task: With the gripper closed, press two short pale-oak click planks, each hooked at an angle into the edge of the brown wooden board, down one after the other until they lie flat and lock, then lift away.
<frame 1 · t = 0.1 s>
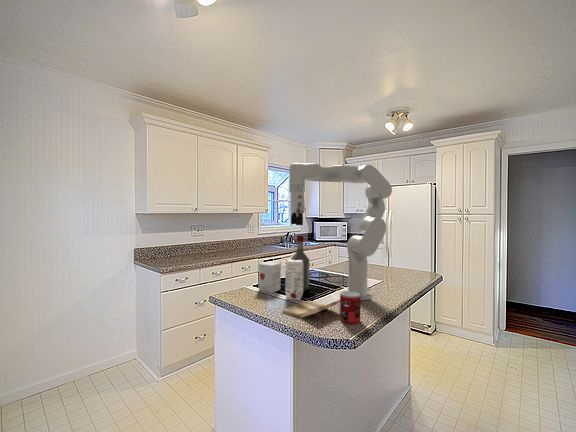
hand: (296, 224, 140), 37 cm above the worktop, tool pointing down, fingers open, 9 cm apart
plank a: (327, 305, 125), point 3 cm above the worktop, hinge at 28.0°
canned food: (350, 321, 116), on the worktop
brown wooden board: (303, 309, 128), on the worktop
supplement box: (269, 290, 159), on the worktop
liquor: (299, 288, 164), on the worktop
plank b: (314, 311, 119), point 3 cm above the worktop, hinge at 28.0°
juice carton: (294, 298, 146), on the worktop
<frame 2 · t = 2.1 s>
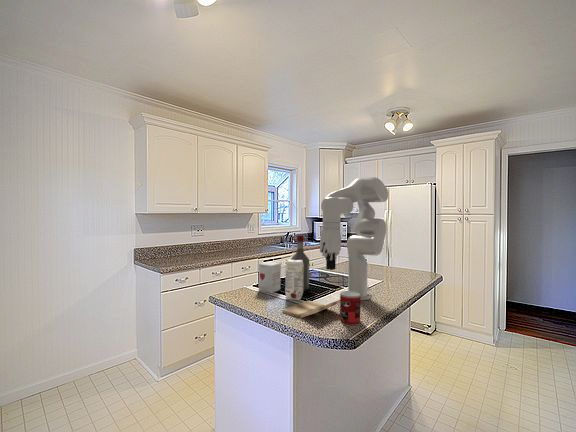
hand: (330, 269, 124), 19 cm above the worktop, tool pointing down, fingers closed
nothing on the worktop moved.
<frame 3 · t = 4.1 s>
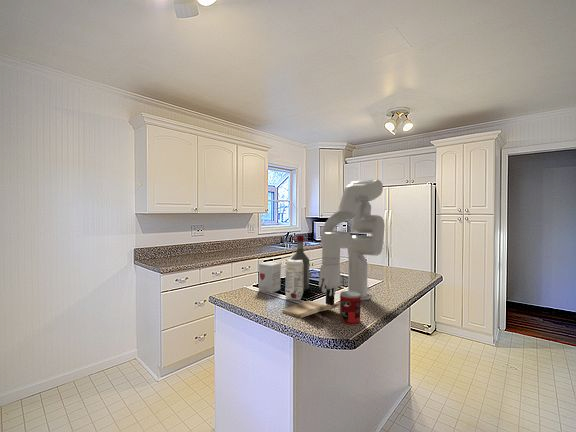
hand: (329, 304, 124), 4 cm above the worktop, tool pointing down, fingers closed
plank a: (327, 307, 125), point 2 cm above the worktop, hinge at 22.0°, touching gripper
everything else where it was.
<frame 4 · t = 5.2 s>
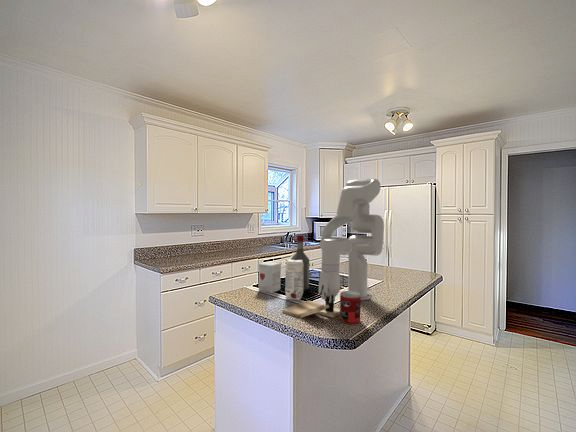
hand: (329, 310, 123), 1 cm above the worktop, tool pointing down, fingers closed
plank a: (328, 311, 125), point 1 cm above the worktop, hinge at 1.0°, touching gripper
everything else where it was.
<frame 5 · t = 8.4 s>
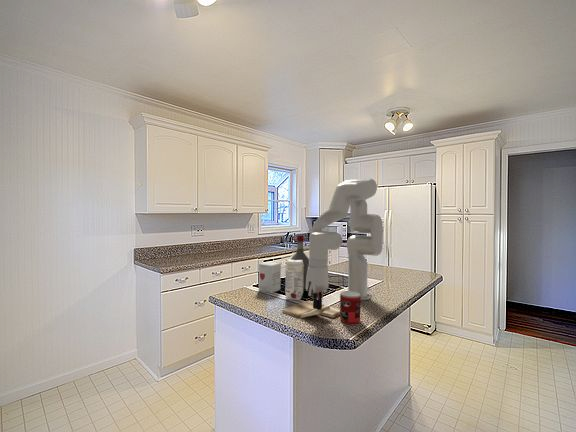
hand: (317, 308, 117), 4 cm above the worktop, tool pointing down, fingers closed
plank a: (328, 311, 125), point 1 cm above the worktop, hinge at 0.7°
plank b: (314, 311, 119), point 3 cm above the worktop, hinge at 23.7°, touching gripper
everything else where it was.
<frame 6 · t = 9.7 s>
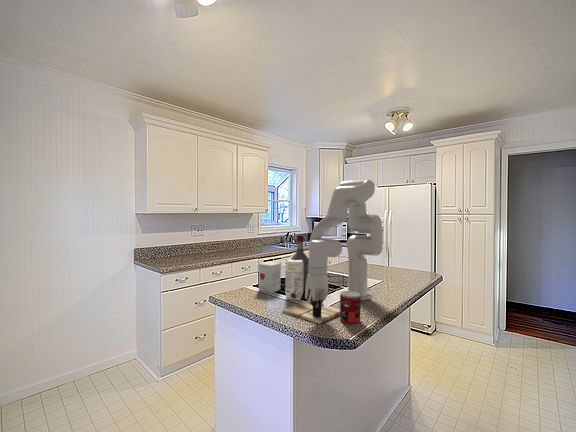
hand: (316, 316, 117), 1 cm above the worktop, tool pointing down, fingers closed
plank b: (316, 316, 118), point 1 cm above the worktop, hinge at 1.3°, touching gripper
everything else where it was.
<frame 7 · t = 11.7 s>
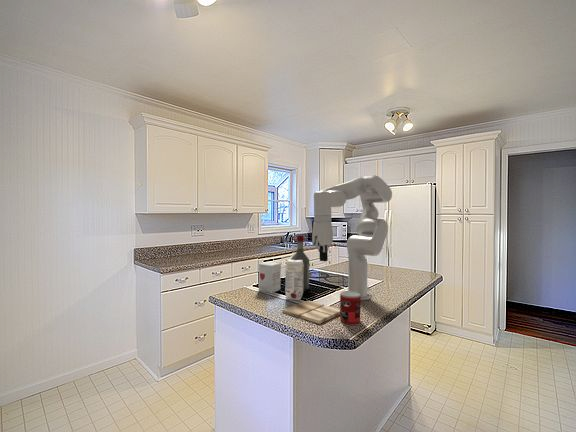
hand: (323, 260, 128), 22 cm above the worktop, tool pointing down, fingers closed
plank b: (316, 316, 118), point 1 cm above the worktop, hinge at 1.1°
everything else where it was.
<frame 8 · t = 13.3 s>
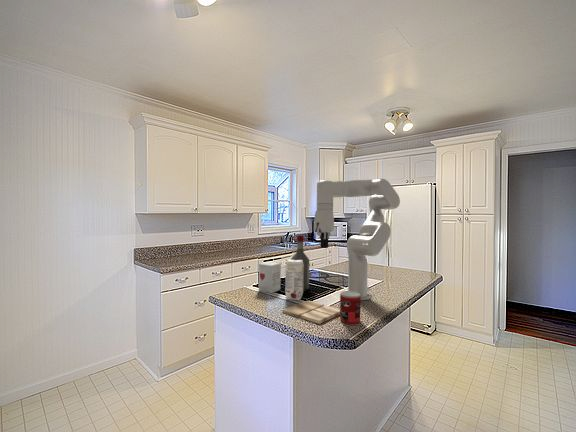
hand: (324, 247, 133), 27 cm above the worktop, tool pointing down, fingers closed
nothing on the worktop moved.
at the end: plank a at +1° (first picture: +28°); plank b at +1° (first picture: +28°); canned food moved 0.2 cm from its start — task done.
